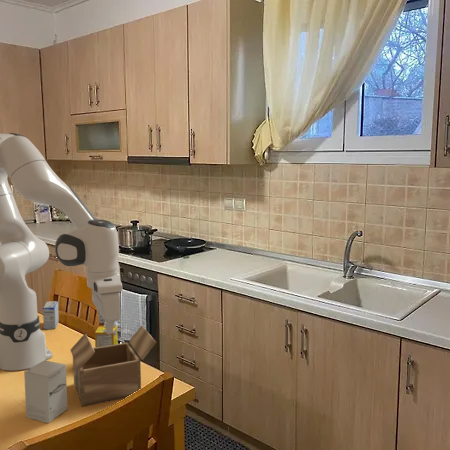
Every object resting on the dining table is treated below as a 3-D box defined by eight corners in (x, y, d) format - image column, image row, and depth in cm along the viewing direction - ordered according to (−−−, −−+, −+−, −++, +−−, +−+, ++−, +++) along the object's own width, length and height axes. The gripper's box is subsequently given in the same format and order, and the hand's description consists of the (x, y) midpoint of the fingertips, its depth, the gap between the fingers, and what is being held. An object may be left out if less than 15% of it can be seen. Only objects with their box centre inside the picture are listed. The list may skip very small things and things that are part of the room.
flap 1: (71, 350, 138) (70, 349, 138) (86, 334, 139) (85, 333, 139) (79, 370, 126) (77, 369, 126) (95, 352, 127) (93, 351, 127)
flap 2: (141, 325, 146) (142, 326, 146) (128, 341, 145) (130, 342, 145) (155, 341, 134) (156, 342, 134) (141, 359, 133) (142, 360, 133)
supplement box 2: (118, 357, 158) (117, 325, 157) (114, 365, 153) (113, 332, 151) (100, 357, 158) (99, 325, 157) (95, 365, 152) (94, 332, 151)
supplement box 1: (48, 424, 120) (46, 376, 118) (25, 417, 122) (22, 370, 120) (68, 409, 126) (66, 363, 124) (46, 403, 129) (44, 359, 127)
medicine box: (47, 322, 189) (46, 301, 188) (59, 321, 190) (58, 300, 189) (43, 329, 182) (42, 307, 180) (55, 329, 183) (54, 307, 181)
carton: (74, 383, 140) (72, 351, 139) (128, 373, 147) (127, 342, 145) (81, 407, 128) (80, 371, 126) (141, 394, 134) (140, 360, 133)
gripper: (85, 272, 140) (87, 317, 142) (99, 289, 122) (101, 341, 124) (107, 269, 143) (109, 314, 145) (123, 286, 125) (126, 337, 127)
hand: (105, 327), depth 134 cm, fingers open, 8 cm apart
